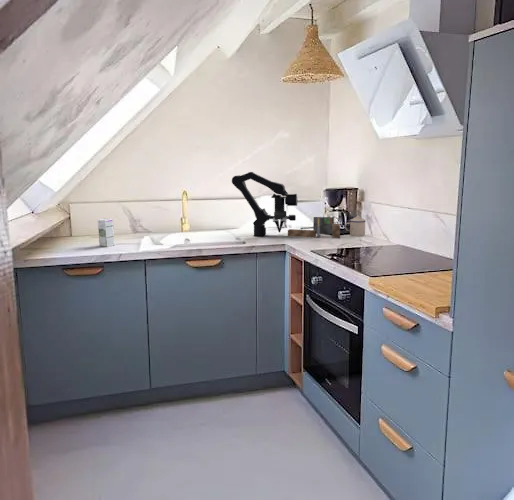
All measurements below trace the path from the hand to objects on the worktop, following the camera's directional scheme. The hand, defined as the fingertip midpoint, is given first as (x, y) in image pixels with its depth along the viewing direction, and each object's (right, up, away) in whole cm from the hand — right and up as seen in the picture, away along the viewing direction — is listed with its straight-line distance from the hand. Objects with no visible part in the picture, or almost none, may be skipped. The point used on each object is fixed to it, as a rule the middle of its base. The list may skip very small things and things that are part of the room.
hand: (279, 232), depth 294 cm
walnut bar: (+13, -3, -1) cm, 13 cm away
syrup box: (-93, -8, -27) cm, 97 cm away
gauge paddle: (+23, -2, +1) cm, 23 cm away
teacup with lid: (+45, -2, +2) cm, 45 cm away
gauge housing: (+27, -2, +1) cm, 28 cm away
